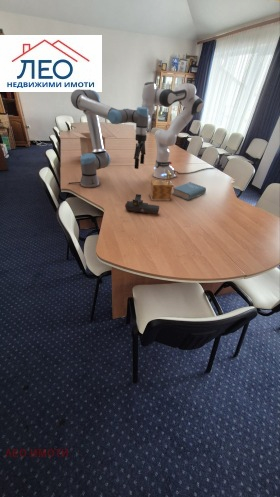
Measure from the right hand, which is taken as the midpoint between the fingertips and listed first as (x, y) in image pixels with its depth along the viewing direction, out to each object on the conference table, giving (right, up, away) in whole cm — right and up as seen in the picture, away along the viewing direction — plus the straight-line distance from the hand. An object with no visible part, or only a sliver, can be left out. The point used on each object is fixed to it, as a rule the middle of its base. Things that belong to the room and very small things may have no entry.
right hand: (146, 132), depth 164 cm
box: (-55, +7, +72) cm, 91 cm away
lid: (+12, -39, -1) cm, 41 cm away
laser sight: (-4, -62, -16) cm, 64 cm away
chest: (+11, -48, +5) cm, 49 cm away
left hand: (-5, -26, -2) cm, 27 cm away
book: (+35, -42, +15) cm, 57 cm away
